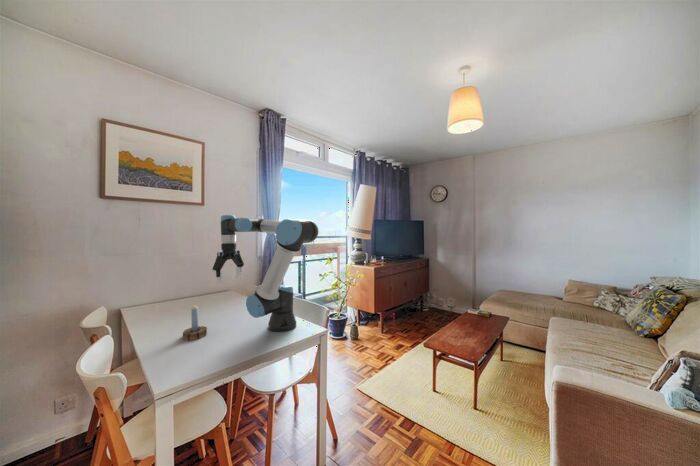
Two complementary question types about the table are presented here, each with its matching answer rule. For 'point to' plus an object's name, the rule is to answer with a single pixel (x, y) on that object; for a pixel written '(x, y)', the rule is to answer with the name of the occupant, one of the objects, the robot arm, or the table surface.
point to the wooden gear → (194, 333)
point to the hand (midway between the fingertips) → (229, 280)
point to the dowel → (194, 318)
